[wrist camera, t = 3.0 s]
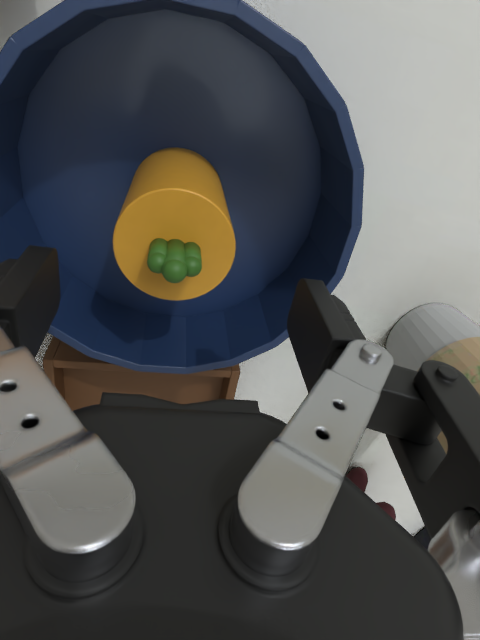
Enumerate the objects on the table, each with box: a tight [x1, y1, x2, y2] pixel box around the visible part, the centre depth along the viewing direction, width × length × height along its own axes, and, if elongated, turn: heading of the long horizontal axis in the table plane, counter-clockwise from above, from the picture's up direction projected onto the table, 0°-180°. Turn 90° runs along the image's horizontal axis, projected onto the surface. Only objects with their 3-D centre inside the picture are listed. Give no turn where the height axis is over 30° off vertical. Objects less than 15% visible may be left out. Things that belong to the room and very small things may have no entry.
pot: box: [0, 0, 364, 374], centre depth 20 cm, size 17×17×5 cm
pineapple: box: [113, 147, 236, 300], centre depth 18 cm, size 5×5×9 cm
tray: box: [43, 336, 240, 411], centre depth 30 cm, size 12×13×2 cm
